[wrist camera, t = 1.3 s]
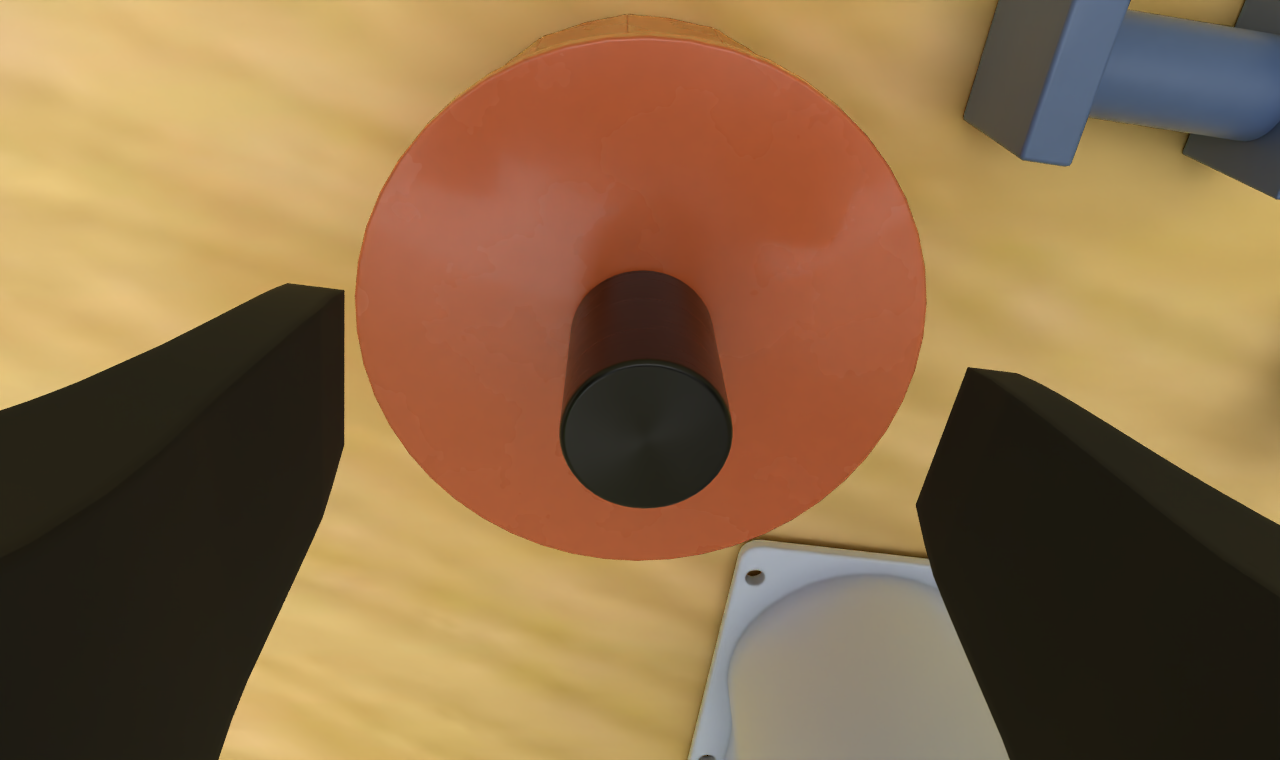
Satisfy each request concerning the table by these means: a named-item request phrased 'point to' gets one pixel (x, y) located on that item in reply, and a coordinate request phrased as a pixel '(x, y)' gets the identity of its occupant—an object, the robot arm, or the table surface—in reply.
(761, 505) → the lid
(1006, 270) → the table surface
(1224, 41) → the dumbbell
